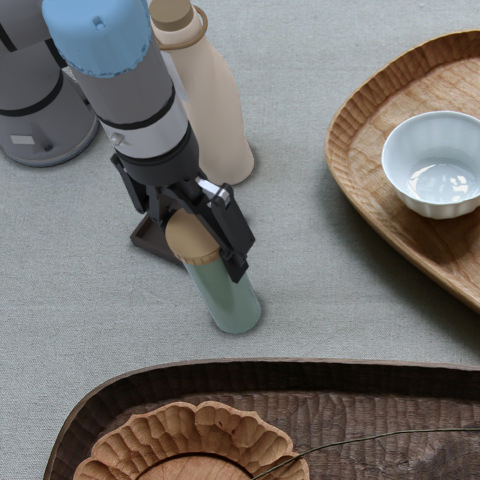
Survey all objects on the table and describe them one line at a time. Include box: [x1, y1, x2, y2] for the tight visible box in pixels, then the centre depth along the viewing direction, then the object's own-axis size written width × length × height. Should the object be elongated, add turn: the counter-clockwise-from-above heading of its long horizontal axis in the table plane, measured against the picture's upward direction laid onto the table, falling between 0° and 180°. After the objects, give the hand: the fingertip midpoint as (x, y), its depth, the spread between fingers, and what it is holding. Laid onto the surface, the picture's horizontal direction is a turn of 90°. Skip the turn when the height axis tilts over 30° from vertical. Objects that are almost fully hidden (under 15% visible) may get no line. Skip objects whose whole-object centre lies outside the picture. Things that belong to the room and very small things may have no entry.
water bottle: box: [148, 0, 255, 187], centre depth 106 cm, size 10×9×28 cm
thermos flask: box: [183, 258, 262, 335], centre depth 101 cm, size 6×6×19 cm
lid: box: [166, 208, 221, 266], centre depth 92 cm, size 7×7×2 cm
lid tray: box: [128, 198, 186, 269], centre depth 114 cm, size 12×10×2 cm
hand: (212, 261), depth 98 cm, fingers closed on lid, 7 cm apart
